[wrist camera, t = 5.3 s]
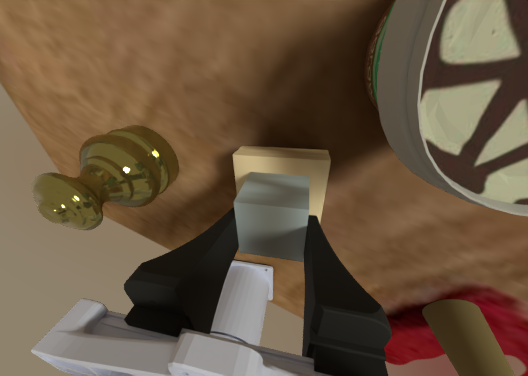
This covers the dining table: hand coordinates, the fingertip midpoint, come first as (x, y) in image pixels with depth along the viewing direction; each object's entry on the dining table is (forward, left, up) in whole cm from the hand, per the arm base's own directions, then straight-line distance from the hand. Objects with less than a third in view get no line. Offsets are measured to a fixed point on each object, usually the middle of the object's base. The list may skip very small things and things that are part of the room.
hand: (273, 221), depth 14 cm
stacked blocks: (0, 0, -5) cm, 5 cm away
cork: (+22, -18, -7) cm, 29 cm away
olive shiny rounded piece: (-15, +1, -7) cm, 17 cm away
